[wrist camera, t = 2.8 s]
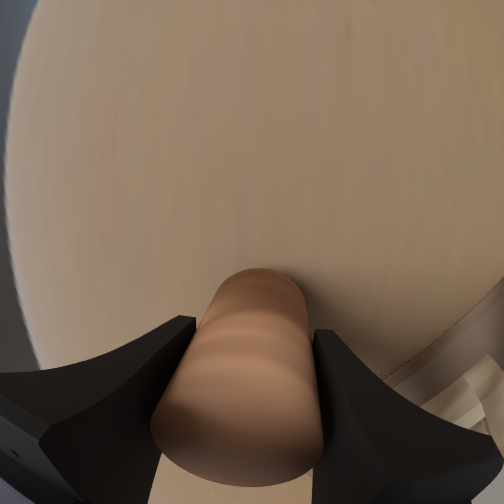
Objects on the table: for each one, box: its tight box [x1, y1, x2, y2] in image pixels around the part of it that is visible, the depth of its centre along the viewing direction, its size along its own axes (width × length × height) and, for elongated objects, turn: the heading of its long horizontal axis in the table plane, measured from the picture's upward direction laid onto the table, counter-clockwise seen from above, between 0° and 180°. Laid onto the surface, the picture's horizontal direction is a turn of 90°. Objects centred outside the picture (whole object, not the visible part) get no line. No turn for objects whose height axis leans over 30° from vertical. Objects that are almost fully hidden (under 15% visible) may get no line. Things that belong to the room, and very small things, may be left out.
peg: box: [150, 268, 323, 487], centre depth 9 cm, size 4×4×7 cm
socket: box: [305, 277, 504, 477], centre depth 13 cm, size 18×16×4 cm
